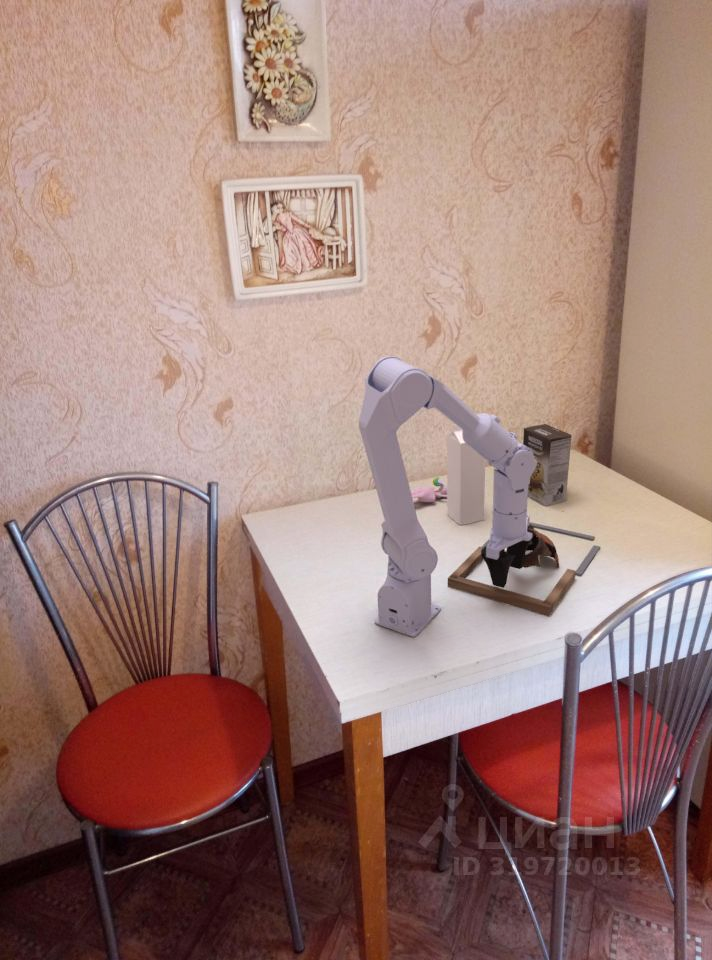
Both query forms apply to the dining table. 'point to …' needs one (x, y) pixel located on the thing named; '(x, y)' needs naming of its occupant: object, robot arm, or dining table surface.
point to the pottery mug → (539, 549)
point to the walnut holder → (505, 596)
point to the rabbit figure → (430, 492)
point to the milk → (464, 480)
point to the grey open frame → (566, 532)
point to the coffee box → (548, 463)
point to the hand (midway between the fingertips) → (507, 576)
